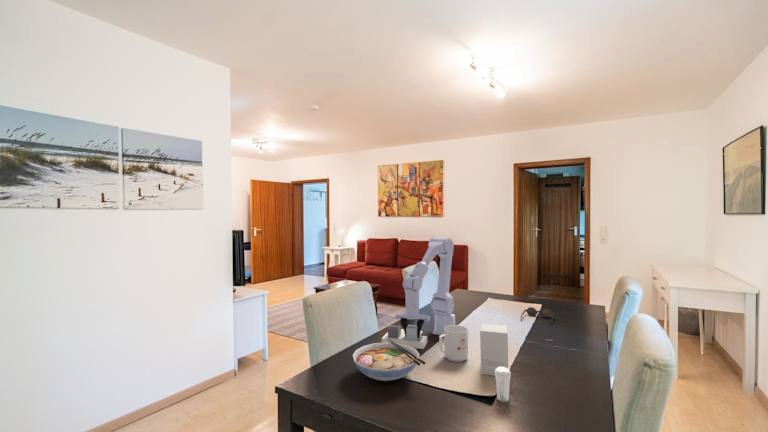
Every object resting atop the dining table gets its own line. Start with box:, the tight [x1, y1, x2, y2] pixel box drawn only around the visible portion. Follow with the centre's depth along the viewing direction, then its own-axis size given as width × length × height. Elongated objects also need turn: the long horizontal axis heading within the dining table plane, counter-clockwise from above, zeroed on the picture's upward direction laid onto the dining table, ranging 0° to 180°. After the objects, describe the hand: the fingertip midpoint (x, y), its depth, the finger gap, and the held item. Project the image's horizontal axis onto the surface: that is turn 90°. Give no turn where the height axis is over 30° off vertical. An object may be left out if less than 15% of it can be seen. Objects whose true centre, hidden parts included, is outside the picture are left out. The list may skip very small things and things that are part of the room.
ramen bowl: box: [352, 339, 426, 382], centre depth 117 cm, size 25×23×8 cm
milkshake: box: [493, 366, 512, 403], centre depth 102 cm, size 4×5×10 cm
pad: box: [401, 328, 423, 336], centre depth 158 cm, size 10×10×1 cm
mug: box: [438, 324, 469, 363], centre depth 131 cm, size 12×9×11 cm
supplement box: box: [479, 323, 509, 377], centre depth 120 cm, size 9×9×15 cm
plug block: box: [406, 324, 419, 342], centre depth 146 cm, size 4×4×6 cm
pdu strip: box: [381, 324, 428, 350], centre depth 147 cm, size 18×8×7 cm, turn 72°
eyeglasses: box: [520, 306, 555, 327], centre depth 178 cm, size 15×15×5 cm
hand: (412, 336), depth 146 cm, fingers closed on plug block, 4 cm apart
